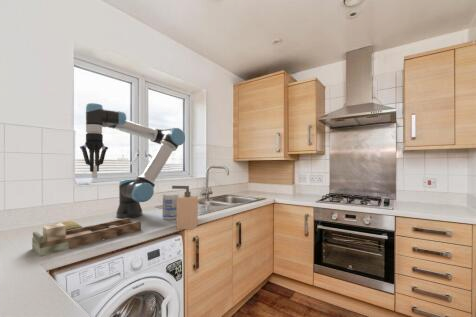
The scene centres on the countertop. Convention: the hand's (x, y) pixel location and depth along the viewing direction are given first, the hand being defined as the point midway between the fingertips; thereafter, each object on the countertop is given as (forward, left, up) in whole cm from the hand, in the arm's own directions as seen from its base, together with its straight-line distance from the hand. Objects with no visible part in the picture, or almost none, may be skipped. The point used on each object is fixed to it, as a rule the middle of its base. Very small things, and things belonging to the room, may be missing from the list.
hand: (94, 177), depth 122 cm
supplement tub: (-37, +15, -27) cm, 48 cm away
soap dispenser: (-30, +36, -27) cm, 54 cm away
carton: (+11, -2, -27) cm, 29 cm away
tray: (+7, +17, -26) cm, 32 cm away
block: (+21, +17, -23) cm, 36 cm away
